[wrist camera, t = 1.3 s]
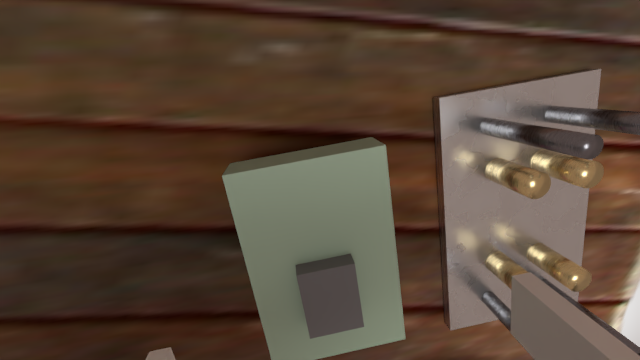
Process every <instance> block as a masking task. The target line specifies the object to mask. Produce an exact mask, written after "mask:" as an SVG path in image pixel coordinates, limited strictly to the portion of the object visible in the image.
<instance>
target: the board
mask: <svg viewBox="0 0 640 360" xmlns="http://www.w3.org/2000/svg"><path fill="white" fill-rule="evenodd" d="M222 178H223V182H224V185H225V189H226V193H227V196H228V200H229V204H230V208H231V211H232V215H233V219H234V222H235V226H236V230H237V234H238V237H239V241H240V245H241V248H242V252H243V256H244V259H245V263H246V267H247V271H248V274H249V278H250V282H251V285H252V289H253V293H254V297H255V300H256V304H257V308H258V311H259V315H260V319H261V322H262V326H263V330H264V334H265V337H266V341H267V345H268V348H269V352H270V356H271V360H316V359H320V358H324V357H329V356H333V355H338V354H342V353H346V352H351V351H355V350H360V349H364V348H368V347H373V346H377V345H381V344H386V343H390V342H395V341H399V340H403V339H405V329H404V320H403V310H402V300H401V290H400V280H399V271H398V261H397V251H396V241H395V231H394V222H393V212H392V202H391V192H390V182H389V172H388V163H387V153H386V145H385V144H383V143H381V142H380V141H378V140H376V139H374V138H373V137H370V138H364V139H359V140H353V141H348V142H343V143H337V144H332V145H326V146H321V147H316V148H310V149H305V150H300V151H294V152H289V153H283V154H278V155H273V156H267V157H262V158H256V159H251V160H246V161H240V162H235V163H230V164H229V166H228V167H227V169H226V170H225V172H224V173H223V175H222Z"/></svg>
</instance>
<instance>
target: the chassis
mask: <svg viewBox="0 0 640 360" xmlns="http://www.w3.org/2000/svg"><path fill="white" fill-rule="evenodd" d="M600 75H601V69H590V70H583V71H577V72H572V73H566V74H561V75H555V76H550V77H544V78H538V79H533V80H527V81H522V82H516V83H511V84H505V85H499V86H494V87H488V88H483V89H477V90H472V91H466V92H460V93H455V94H449V95H444V96H438V97H433V113H434V132H435V150H436V169H437V188H438V206H439V225H440V244H441V262H442V281H443V300H444V318H445V323H446V325H447V326H448V328H449V329H450V330H455V329H459V328H463V327H468V326H472V325H477V324H481V323H485V322H490V321H494V320H498V319H499V320H500V321H501V322H502V323H503V324H504V325H505V326H506V328H507V329H508V330H509V331H510V330H511V290H512V276H514V275H519V274H524V273H529V272H531V273H532V274H534V275H535V276H536V277H538V278H539V279H540V280H542V281H543V282H544V283H545V284H547V285H548V286H549V287H551V288H552V289H553V290H555V291H556V292H557V293H558V294H560V295H561V296H562V297H564V298H565V299H566V300H568V301H569V302H570V303H572V304H573V305H574V306H575V307H577V308H578V309H579V310H581V311H582V312H583V313H585V314H586V315H587V316H588V317H590V318H591V319H592V320H594V321H595V322H596V323H598V324H599V325H600V326H601V327H603V328H604V329H605V330H607V331H608V332H609V333H611V334H612V335H613V336H614V337H616V338H617V339H618V340H620V341H621V342H622V343H624V344H625V345H626V346H627V347H629V348H630V349H631V350H633V351H634V352H635V353H637V354H638V353H640V347H638V346H637V345H635V344H634V343H633V342H631V341H630V340H629V339H627V338H626V337H625V336H623V335H622V334H620V333H619V332H618V331H616V330H615V329H614V328H612V327H611V326H609V325H608V324H607V323H605V322H604V321H603V320H601V319H600V318H599V317H597V316H596V315H594V314H593V313H592V312H590V311H589V310H588V309H586V308H585V307H584V306H582V305H581V304H579V303H578V302H577V301H578V294H579V291H582V290H584V289H585V288H586V287H587V286H588V285H589V284H590V282H591V279H592V276H591V273H590V272H589V271H587V270H586V269H584V268H582V267H581V264H582V254H583V244H584V234H585V224H586V214H587V204H588V194H589V188H592V187H594V186H595V185H597V184H598V183H599V182H600V180H601V179H602V177H603V173H604V169H603V166H602V164H601V163H599V162H596V161H592V159H593V158H595V157H596V156H598V155H599V153H600V152H601V150H602V148H603V139H602V138H601V137H600V136H599V135H595V129H600V130H608V131H615V132H622V133H629V134H637V135H640V112H631V111H618V110H604V109H597V105H598V95H599V85H600Z"/></svg>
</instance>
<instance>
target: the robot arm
mask: <svg viewBox="0 0 640 360" xmlns="http://www.w3.org/2000/svg"><path fill="white" fill-rule="evenodd" d="M510 333H511V334H512V335H513V336H514V337H515V338H516V339H517V341H518V342H519V343H520V344H521V345H522V346H523V347H524V348H525V349H526V351H527V352H528V353H529V354H530V355H531V356H532V357H533V358H534V359H535V360H640V353H638V354H637V353H635V352H634V351H633V350H631V349H630V348H629V347H627V346H626V345H625V344H624V343H622V342H621V341H620V340H618V339H617V338H616V337H614V336H613V335H612V334H611V333H609V332H608V331H607V330H605V329H604V328H603V327H601V326H600V325H599V324H598V323H596V322H595V321H594V320H592V319H591V318H590V317H588V316H587V315H586V314H585V313H583V312H582V311H581V310H579V309H578V308H577V307H575V306H574V305H573V304H572V303H570V302H569V301H568V300H566V299H565V298H564V297H562V296H561V295H560V294H558V293H557V292H556V291H555V290H553V289H552V288H551V287H549V286H548V285H547V284H545V283H544V282H543V281H542V280H540V279H539V278H538V277H536V276H535V275H534V274H532V273H531V272H529V273H524V274H519V275H514V276H512V290H511V330H510ZM146 360H176V359H175V357H174V354H173V352H172V349H171V347H169V348H165V349H160V350H155V351H150V352H149V354H148V356H147V358H146Z"/></svg>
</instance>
